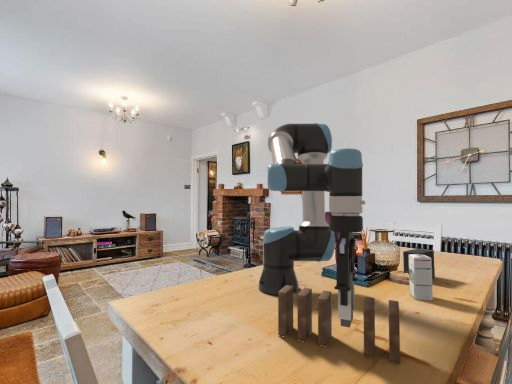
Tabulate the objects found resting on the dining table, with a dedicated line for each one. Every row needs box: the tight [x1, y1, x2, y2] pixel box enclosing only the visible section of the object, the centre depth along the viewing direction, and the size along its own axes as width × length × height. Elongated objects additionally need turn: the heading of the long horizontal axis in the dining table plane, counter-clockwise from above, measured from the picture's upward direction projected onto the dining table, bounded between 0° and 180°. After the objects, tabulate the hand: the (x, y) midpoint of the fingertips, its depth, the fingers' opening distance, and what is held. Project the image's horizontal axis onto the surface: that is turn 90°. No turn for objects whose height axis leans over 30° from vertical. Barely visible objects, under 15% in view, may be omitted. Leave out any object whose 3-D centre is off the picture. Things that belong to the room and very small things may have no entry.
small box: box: [402, 248, 436, 279], centre depth 119 cm, size 13×7×12 cm, turn 123°
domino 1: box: [277, 285, 294, 338], centre depth 71 cm, size 2×6×11 cm, turn 154°
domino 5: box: [363, 296, 376, 359], centre depth 62 cm, size 2×6×11 cm, turn 154°
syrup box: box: [408, 254, 434, 302], centre depth 96 cm, size 6×6×14 cm
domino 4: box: [340, 271, 354, 329], centre depth 64 cm, size 2×6×11 cm, turn 154°
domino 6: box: [388, 299, 401, 365], centre depth 60 cm, size 2×6×11 cm, turn 154°
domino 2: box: [297, 287, 313, 343], centre depth 69 cm, size 2×6×11 cm, turn 154°
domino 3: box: [317, 290, 333, 348], centre depth 67 cm, size 2×6×11 cm, turn 154°
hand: (346, 313), depth 64 cm, fingers closed on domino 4, 6 cm apart
